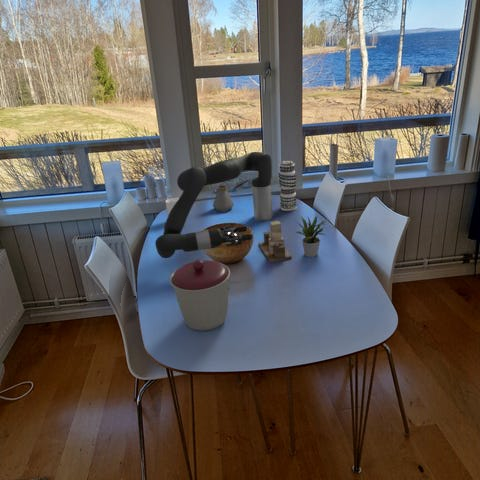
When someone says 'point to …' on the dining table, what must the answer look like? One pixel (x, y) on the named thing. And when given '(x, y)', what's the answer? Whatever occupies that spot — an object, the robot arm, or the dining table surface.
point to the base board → (279, 250)
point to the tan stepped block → (275, 235)
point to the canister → (202, 293)
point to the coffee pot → (224, 198)
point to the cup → (171, 203)
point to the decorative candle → (287, 186)
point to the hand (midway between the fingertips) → (248, 232)
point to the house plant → (311, 236)
